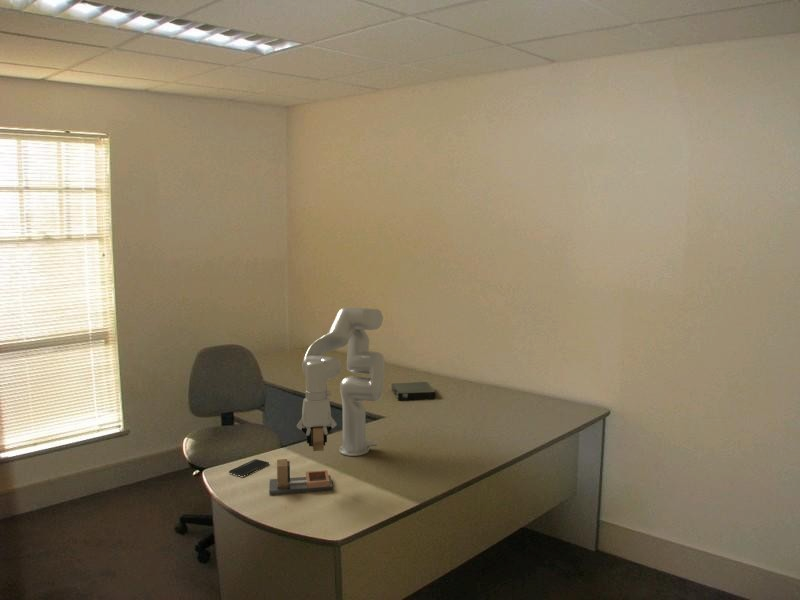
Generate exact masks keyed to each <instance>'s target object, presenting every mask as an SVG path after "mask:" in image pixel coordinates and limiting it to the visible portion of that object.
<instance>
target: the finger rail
mask: <svg viewBox="0 0 800 600" xmlns="http://www.w3.org/2000/svg"><path fill="white" fill-rule="evenodd" d="M290 462H291V461H290V460H288V459H287V458H286V459H285V458H283V459H282V458H281V459H276V471H277V472H276V475H277V477H276V478H273V479H272V478H270V479H269V490H268V491H269V492H268V495H269V496H274V495H276V496H277V495H289V494H299V493H301V494H302V493H313V492H326V491H327V492H328V491H333V484H332V483H333V482H332V477H331V474H329V471H328V470H327V469H325V470H324V469H323V470H312V471H310V470H309V471H305V476H301V477H300V476H298V477H297V476H296V477H291V464H290Z"/></svg>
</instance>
